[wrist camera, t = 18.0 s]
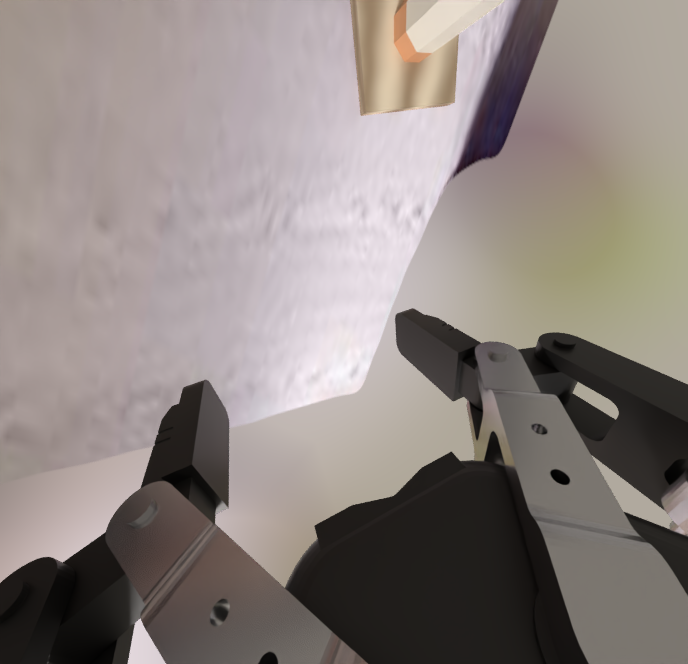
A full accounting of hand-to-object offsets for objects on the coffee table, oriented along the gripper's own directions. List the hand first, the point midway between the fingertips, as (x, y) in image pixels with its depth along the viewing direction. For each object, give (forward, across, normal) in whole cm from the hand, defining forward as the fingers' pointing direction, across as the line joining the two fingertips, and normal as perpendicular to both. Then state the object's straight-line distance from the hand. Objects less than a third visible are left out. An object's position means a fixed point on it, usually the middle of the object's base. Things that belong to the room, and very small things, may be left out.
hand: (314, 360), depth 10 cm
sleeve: (+29, -25, -20) cm, 43 cm away
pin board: (+30, -25, -20) cm, 44 cm away
